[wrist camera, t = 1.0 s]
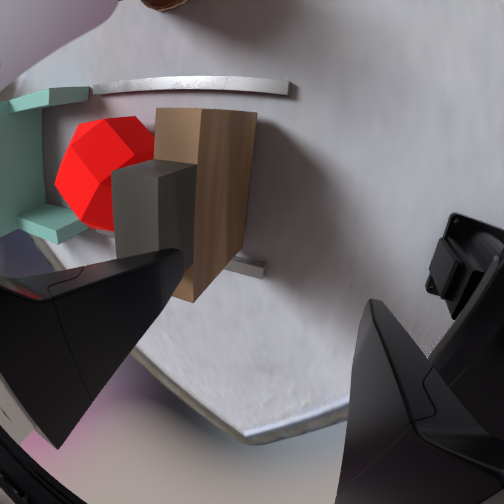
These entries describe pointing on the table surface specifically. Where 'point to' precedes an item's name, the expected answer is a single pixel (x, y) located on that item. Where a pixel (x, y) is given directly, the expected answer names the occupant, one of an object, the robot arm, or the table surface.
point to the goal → (32, 167)
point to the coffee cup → (163, 4)
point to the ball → (100, 165)
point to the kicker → (188, 193)
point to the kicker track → (203, 83)
